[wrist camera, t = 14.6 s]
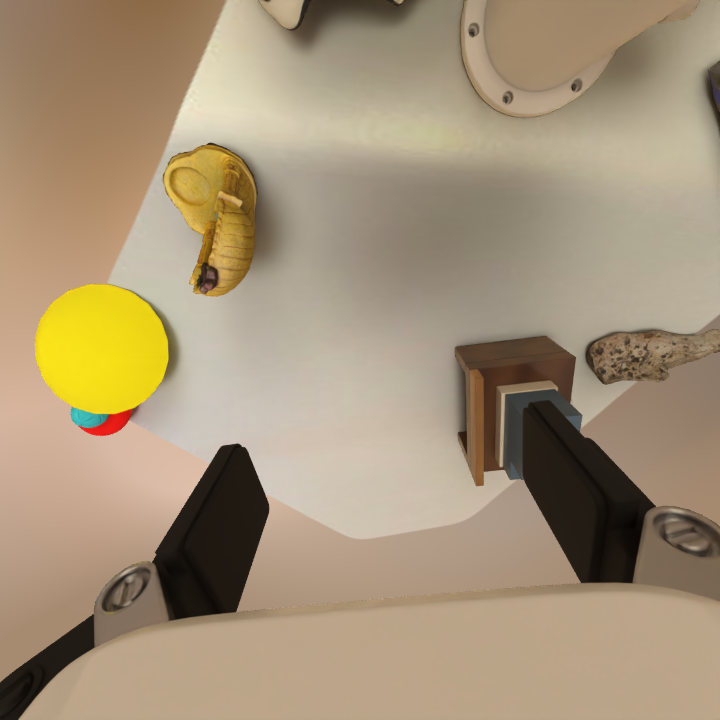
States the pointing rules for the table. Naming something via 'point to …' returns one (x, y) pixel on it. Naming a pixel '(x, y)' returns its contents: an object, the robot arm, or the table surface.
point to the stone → (647, 354)
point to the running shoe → (293, 11)
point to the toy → (101, 354)
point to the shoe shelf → (498, 369)
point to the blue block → (511, 420)
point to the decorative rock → (715, 83)
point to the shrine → (216, 213)
